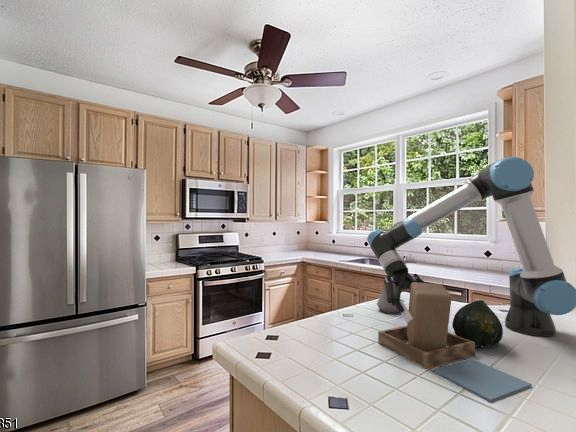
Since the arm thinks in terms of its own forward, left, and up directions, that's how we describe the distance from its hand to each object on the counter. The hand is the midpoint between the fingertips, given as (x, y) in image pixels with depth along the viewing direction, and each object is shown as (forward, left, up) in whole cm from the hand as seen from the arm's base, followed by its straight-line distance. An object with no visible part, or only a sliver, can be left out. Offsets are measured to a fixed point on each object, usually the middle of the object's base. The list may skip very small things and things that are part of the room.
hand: (426, 319), depth 99 cm
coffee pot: (-21, -35, -11) cm, 42 cm away
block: (-1, -2, -9) cm, 9 cm away
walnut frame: (-1, -2, -10) cm, 11 cm away
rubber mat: (+1, +18, -10) cm, 21 cm away
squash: (-21, +2, -11) cm, 23 cm away
